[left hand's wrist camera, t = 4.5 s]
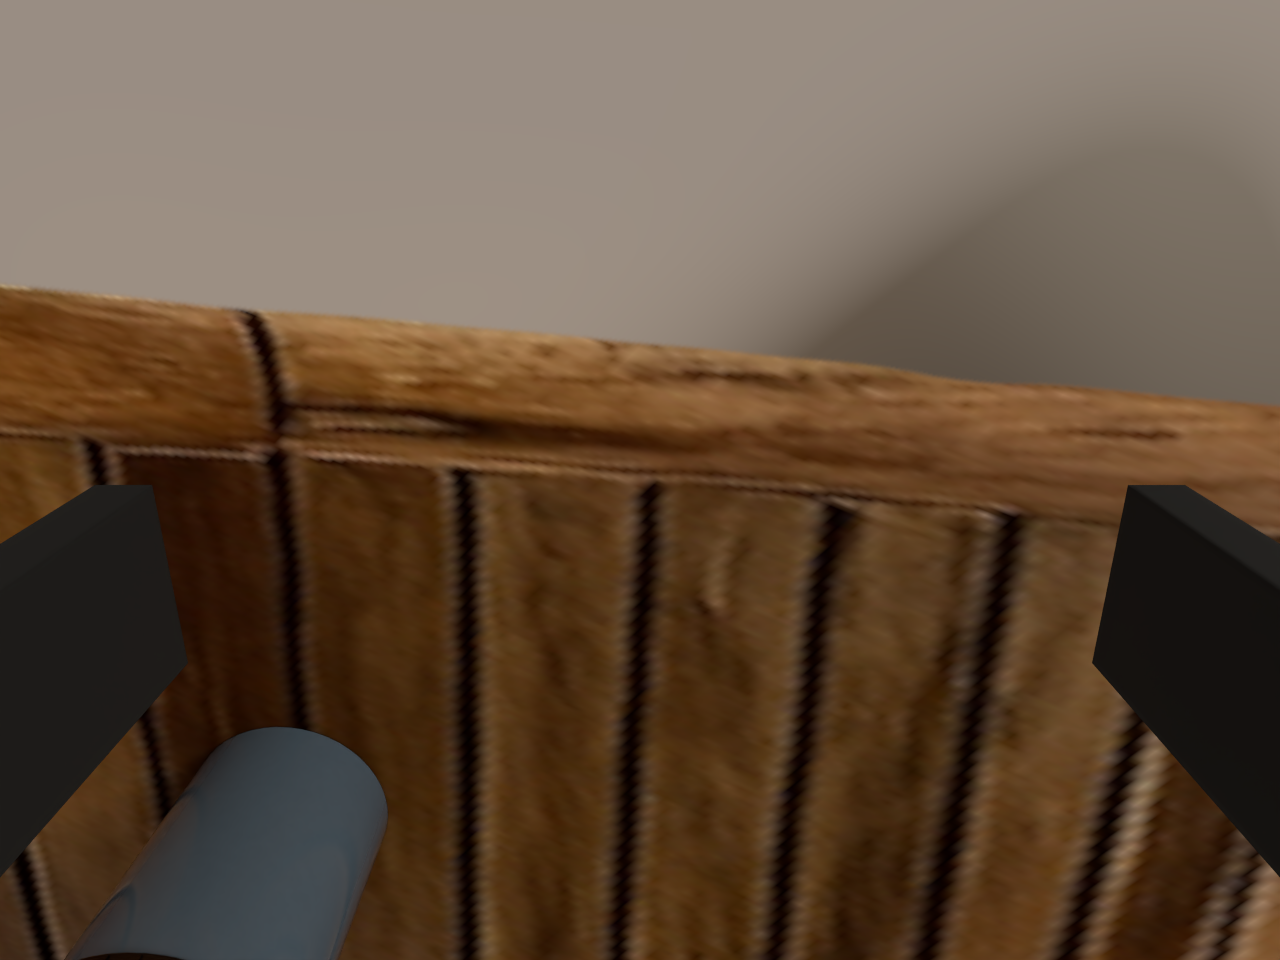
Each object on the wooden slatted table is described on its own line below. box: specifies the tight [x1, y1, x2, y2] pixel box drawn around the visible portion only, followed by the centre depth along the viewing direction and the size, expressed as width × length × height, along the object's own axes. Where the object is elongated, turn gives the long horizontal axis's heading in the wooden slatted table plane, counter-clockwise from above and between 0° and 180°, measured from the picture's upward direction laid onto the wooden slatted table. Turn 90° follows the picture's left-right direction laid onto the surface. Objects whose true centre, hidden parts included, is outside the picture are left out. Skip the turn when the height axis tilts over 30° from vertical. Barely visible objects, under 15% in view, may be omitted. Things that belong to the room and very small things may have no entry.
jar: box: [64, 727, 388, 960], centre depth 41 cm, size 10×10×16 cm
